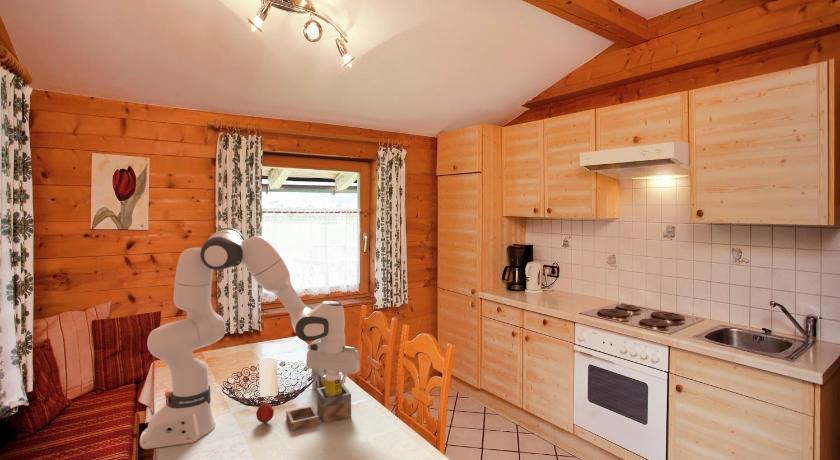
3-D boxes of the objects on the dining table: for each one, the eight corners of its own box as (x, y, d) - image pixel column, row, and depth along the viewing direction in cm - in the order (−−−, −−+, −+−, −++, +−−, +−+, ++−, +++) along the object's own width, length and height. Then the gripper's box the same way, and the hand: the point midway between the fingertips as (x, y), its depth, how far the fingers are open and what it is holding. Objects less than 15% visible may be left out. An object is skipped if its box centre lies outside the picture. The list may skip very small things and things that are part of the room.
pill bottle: (337, 402, 159) (336, 372, 158) (321, 400, 161) (321, 370, 160) (345, 394, 165) (344, 366, 164) (330, 393, 167) (329, 364, 166)
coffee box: (330, 381, 193) (330, 345, 191) (338, 386, 188) (338, 349, 187) (311, 387, 187) (310, 350, 185) (318, 392, 182) (318, 354, 181)
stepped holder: (291, 431, 152) (291, 406, 151) (286, 418, 160) (285, 394, 160) (351, 417, 161) (350, 393, 161) (342, 406, 170) (342, 383, 170)
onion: (257, 429, 153) (257, 406, 153) (255, 421, 158) (254, 400, 158) (275, 425, 156) (274, 403, 155) (272, 417, 161) (271, 396, 160)
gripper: (362, 345, 162) (362, 382, 163) (312, 339, 167) (313, 375, 168) (355, 351, 155) (355, 389, 157) (303, 345, 161) (304, 381, 162)
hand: (333, 381), depth 163 cm, fingers closed on pill bottle, 6 cm apart
